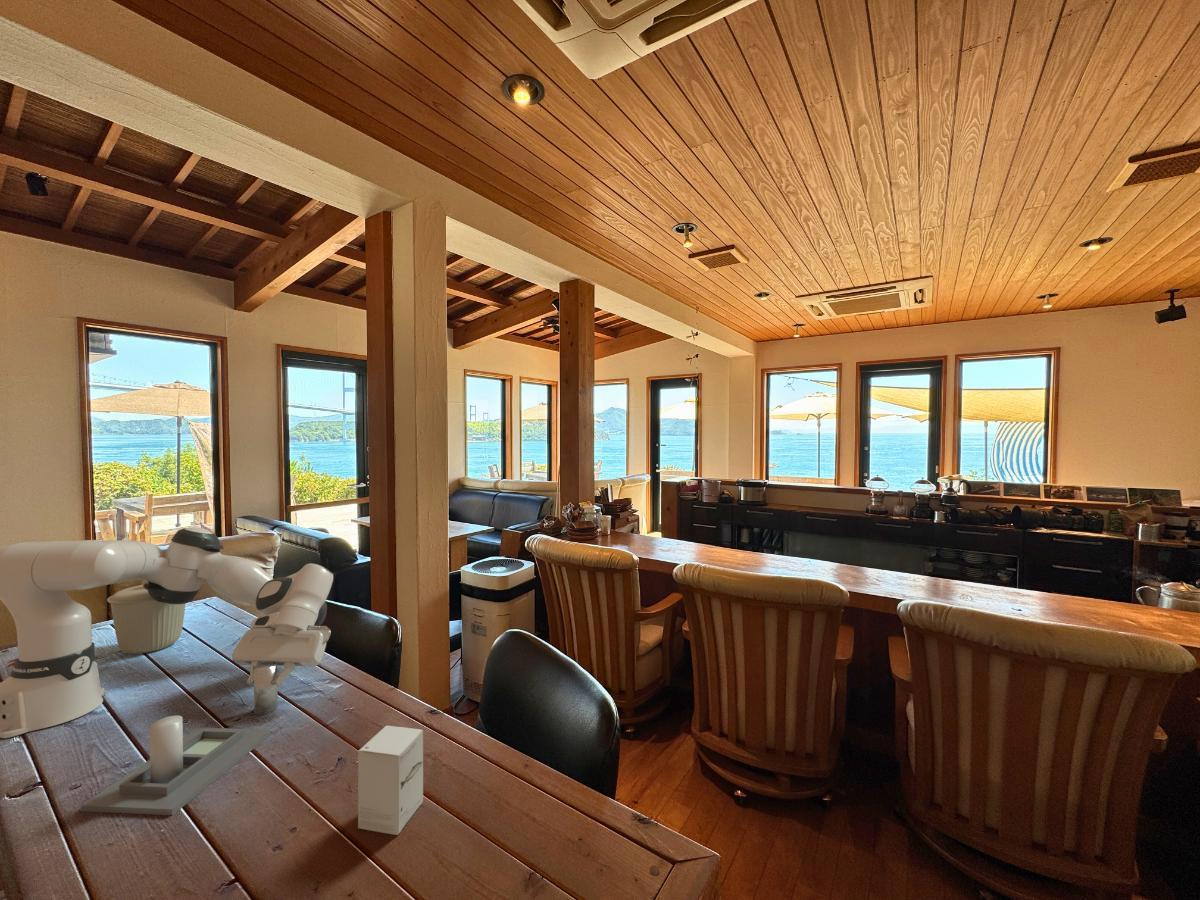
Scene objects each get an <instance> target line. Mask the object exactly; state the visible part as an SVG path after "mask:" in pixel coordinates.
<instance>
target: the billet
mask: <svg viewBox="0 0 1200 900" xmlns="http://www.w3.org/2000/svg"><path fill="white" fill-rule="evenodd" d="M275 675H278V666H277V663H275V662H268V663H263V664H260V665H258V666H256V667H255V668H254V685H253V697H254V698H253V706H254V707H253V708H254V709H253V710H254V711H253V712H254V715H256V716H263V715H264V716H265V715H269V714H272V713H273V712H275V711H277V709H278V708H277V707H279V705H278V704H279V702H278V701H279V698H278V697H279V696H278V685H273V684H272V680H273V678H274V676H275Z"/></svg>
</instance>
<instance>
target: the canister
mask: <svg viewBox="0 0 1200 900" xmlns="http://www.w3.org/2000/svg"><path fill="white" fill-rule="evenodd" d="M145 583H148V581H147V580H142V581H141V584H140V585H135V586H131V587H127V588H124V589H121V590H119V591H117V592H115V593H114V594H113V595H111V596H109V597H108V598H107V600H106V602H107V603H109V604H110V607H111V614H112V615H111V616H112V619H113V620H112V621H113V628H114V632H115V637H116V640H117V646H118V647H119V650H120V651H121V652H123V653H125V654H129V655H138V654H139V655H140V654H146V653H152V652H157V651H159V650H163V649H166V648H168V647H170V646H172V645H174V644H175V643H176V642H178V640H179V639H180V637H181V635H182V631H183V626H184V619H185V610H186V604H179V605H167V604H163V603H161V602H158V601H155V600H154V599H153V598H152V597H151V596H150V595H149V593H148V590H147V589H145V588H144V587H143V585H144V584H145Z"/></svg>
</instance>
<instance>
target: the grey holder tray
mask: <svg viewBox="0 0 1200 900" xmlns="http://www.w3.org/2000/svg"><path fill="white" fill-rule="evenodd" d="M183 725H184V724H183V716H181V715H169V716H166V717H163V718H160V719H158V720H156V721H154V722H153V723H151V724H150V726H149V759H148V760H147V761H146V762H144V763H142V764H141V765H140V766H138V767H136V768H135V769H133V770H132V771H130V772H129V773H128V774H126V775H124V776H123V777H121V778H120V779H118V780H117V781H115V782H113V783H112V784H110V785H109V786H108V787H106V788H105V789H103V790H102V791H100V792H99V793H97V794H96V795H94V796H93V797H91V798H90V799H88V800H86V801H85V802H84V803H82V804H81V805H80V812H90V813H107V814H109V813H111V814H132V815H136V814H137V815H153V816H154V815H157V816H158V815H159V816H174V815H175V814H176V813H177V812H178V811H180V810H181V809H182V808H183V807H185V806H186V805H187V804H188V803H190V801H192V800H193V799H194V798H196V797H197V796H198V795H199V794H200V793H202V792H204V790H205V789H207V788H208V787H209V786H210V785H212V784H213V783H214V782H215V781H216V780H217V779H218V778H220V777H221V776H222V775H223V774H225V773H226V772H227V771H228V770H229V769H231V768H232V767H233V766H234V765H236V764H237V763H238V762H240V761H241V760H242V759H243V758H244V757H245V756H247V755H248V754H249V753H250V752H251V751H252V750H254V749H256V748H257V747H259V745H260V744H262V743H263V742H264V741H265V740H266V739H267V738H269V737H270V736H271V735H272V730H271V729H259V728H258V729H254V728H252V729H251V728H222V727H200V726H199V727H197V728H195V729H194V730H192V731H191V732H189V733H187V734H186V735H185V736H184V735H183V733H184V731H183V729H184V728H183V727H184V726H183Z"/></svg>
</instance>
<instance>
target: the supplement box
mask: <svg viewBox="0 0 1200 900" xmlns="http://www.w3.org/2000/svg"><path fill="white" fill-rule="evenodd" d="M423 802H424V730H423V729H419V728H411V727H404V726H395V725H385V726H384V727H383V728H382V729H381V730H379V732H377V733H376V734H375V735H374V736H373V737H372V738H371V739H369V740H368V742H366V743H365V744H364V745H363V746H362V747H361V748H360V749H359V750H358V751H357V828H358V829H360V830H366V831H371V832H376V833H381V834H386V835H387V834H389V835H393V836H394V835H395V836H399V834H401V831H403V828H404V827H405V826H406V824H407V823H408V822H409V821H410V820H411V818H412V816H413V815H414V814H415V812H416V811H417V810H418V809H419V808H420V806H421V805H422V804H423Z"/></svg>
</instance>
